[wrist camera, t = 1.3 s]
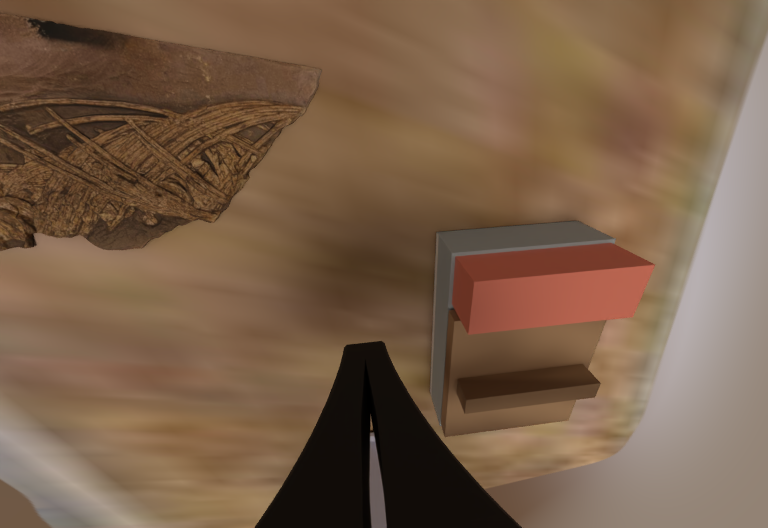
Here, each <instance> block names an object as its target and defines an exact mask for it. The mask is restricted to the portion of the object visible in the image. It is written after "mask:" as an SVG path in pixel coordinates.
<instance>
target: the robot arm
mask: <svg viewBox="0 0 768 528" xmlns="http://www.w3.org/2000/svg"><path fill="white" fill-rule="evenodd" d="M370 413H371V419H372V425H373V431H374V432H373V433H370ZM255 528H522V527H521V526H519V524H518V523H516V522H515V520H514V519H512V518H511V517H510V516H509V515H508V514H507V513H506V512H505V511H504V510H503V509H502V508H501V507H500V506H499V504H498V503H497V502H496V501H494V499H493V498H492V497H491V496H490V495H489V494H488V493H487V492H486V491H485V490H484V489H483V488H482V487H481V486H480V484H479V483H478V482H477V481H476V480H475V479H474V478H473V477H472V476H471V474H470V473H469V472H468V471H467V470H466V469H465V468H464V467H463V465H462V464H461V463H460V462H459V461H458V460H457V459H456V458H455V456H454V455H453V454H452V453H451V451H450V450H449V449H448V448H447V446H446V445H445V444H444V443H443V442H442V440H441V439H440V438H439V436H438V435H437V434H436V432H435V431H434V430H433V428H432V427H431V426H430V424H429V423H428V422H427V420H426V419H425V417H424V416H423V414H422V413H421V411H420V410H419V408H418V407H417V405H416V404H415V402H414V401H413V399H412V398H411V396H410V394H409V393H408V391H407V389H406V388H405V386H404V384H403V382H402V381H401V379H400V377H399V375H398V373H397V372H396V370H395V368H394V366H393V363H392V361H391V359H390V357H389V354H388V352H387V349H386V346H385V343H384V342H382V341H378V342H369V343H359V344H350V345H346V346H345V347H344V351H343V356H342V360H341V364H340V367H339V370H338V373H337V376H336V379H335V381H334V384H333V387H332V389H331V392H330V394H329V397H328V399H327V402H326V404H325V406H324V408H323V411H322V413H321V415H320V417H319V419H318V422H317V424H316V426H315V428H314V430H313V432H312V434H311V436H310V438H309V440H308V442H307V444H306V445H305V447H304V449H303V451H302V453H301V455H300V456H299V458H298V460H297V462H296V463H295V465H294V467H293V468H292V470H291V472H290V474H289V475H288V477H287V479H286V480H285V482H284V484H283V485H282V487H281V488H280V490H279V492H278V493H277V495H276V496H275V498H274V500H273V501H272V503H271V504H270V506H269V507H268V508H267V510H266V511H265V513H264V514H263V516H262V517H261V519H260V520H259V522H258V523H257V525H256V526H255Z"/></svg>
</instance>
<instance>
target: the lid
mask: <svg viewBox="0 0 768 528" xmlns="http://www.w3.org/2000/svg"><path fill="white" fill-rule="evenodd" d="M605 323H606V320H601V321H591V322H582V323H573V324H564V325H554V326H545V327H536V328H527V329H517V330H508V331H499V332H490V333H481V334H471V335H468V333H467V332H466V330H465V328H464V326H463V324H462V322H461V320H460V318H459V317H458V315H457V313H456V311H455V310H449V315H448V329H447V343H446V357H445V371H444V385H443V399H442V413H441V426H442V429H443V433H444V436H445V437H448V436H455V435H463V434H470V433H478V432H485V431H493V430H500V429H508V428H515V427H523V426H530V425H538V424H545V423H553V422H560V421H568V420H569V417H570V415H571V412H572V409H573V407H574V404H575V402H576V400H578V399H586V398H593V397H595V396H596V393H597V391H598V389H599V386H600V384H601V383H600V382H599V381H598V380H597V379H596V378H595V377H594V375H593V374H592V373H591V372H590V371H589V370H588V367H589V365H590V362H591V359H592V357H593V354H594V352H595V349H596V346H597V344H598V341H599V338H600V336H601V333H602V331H603V328H604V325H605Z"/></svg>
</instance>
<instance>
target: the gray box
mask: <svg viewBox="0 0 768 528" xmlns="http://www.w3.org/2000/svg"><path fill="white" fill-rule="evenodd" d="M615 240H616V239H615V238H613V237H611V236H608V235H606V234H604V233H602V232H600V231H598V230H596V229H594V228H592V227H590V226H588V225H585V224H583V223H581V222H579V221H568V222H555V223H543V224H530V225H518V226H506V227H493V228H481V229H469V230H456V231H444V232H436V256H435V281H434V305H433V329H432V353H431V377H430V394H431V397H432V400H433V404H434V407H435V411H436V414H437V418H438V421H439V425H440V426H441V413H442V399H443V385H444V371H445V357H446V343H447V329H448V315H449V310H455V309H454V307H453V305H452V295H453V281H454V268H455V256H465V255H476V254H488V253H499V252H510V251H522V250H533V249H545V248H556V247H568V246H579V245H590V244H602V243H613V244H614V243H615Z"/></svg>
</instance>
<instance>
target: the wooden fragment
mask: <svg viewBox="0 0 768 528" xmlns="http://www.w3.org/2000/svg"><path fill="white" fill-rule="evenodd" d="M321 72H322V70H321V69H316V68H312V67H307V66H301V65H295V64H289V63H282V62H277V61H270V60H266V59H261V58H255V57H249V56H244V55H237V54H232V53H226V52H218V51H214V50H210V49H201V48H195V47H190V46H185V45H179V44H173V43H167V42H160V41H156V40H149V39H143V38H138V37H133V36H128V35H123V34H118V33H112V32H107V31H101V30H93V29H89V28H78V27H73V26H69V25H65V24H56V23H54V22H52V21H40V20H37V19H32V18H26V17H18V16H12V15H8V14H0V251H2V250H6V249H9V248H14V247H22V248H31V247H34V244H33V235H32V234H33V233H43V234H45V235H48V236H53V237H56V238H62V237H69V238H72V237H74V236H76V235H81V236H83V237H85V238H86V239H87V240H88V241H90V242H91V243H92V244H94V245H95V246H97V247H99V248H102V249H105V250H127V249H134V248H143V247H144V245H145V244H146V243H147V242H148V241H149V240H150V239H154V238H158V237H160V236H161V235H162V234H164V233H165V232H168V231H171V230H172V229H173V228H174V227H176V226H178V225H185V224H187V223H189V222H191V221H194V220H198V219H200V220H203V221H206V222H210V223H212V222H215V220H216V219H217V218H218V216H219V214H220V213H221V212H223V211H224V210H226V209H227V208H228V207H229V204H230V202H231V199H232V197H233V196H234V195H235V194H237V192H239V191H240V190H241V189H242V188H243V186H244V184H245V183H246V182H247V181H248V180H249V178H250V177H249V172H250V170H252V169H253V168H255V167H256V165H257V164H258V163H259V162H260V161H261V160H262V159H263V156H264V154H266V152H267V150H268V149H269V148H270V146H271V145H272V142H273V141H274V140H275V138H276V137H278V135H279V134H280V133H281V129H282V128H283V127H284V126H287V125H289V124H291V123H293V122H294V121H295V120H296V119H297V118H298V117H299V116H301V115H303V114H304V113H305V111H306V108H307V107H308V105H309V103H310V102H311V100H312V98H313V97H314V95H315V93H316V91H317V89H318V86H319V79H320V75H321Z"/></svg>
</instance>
